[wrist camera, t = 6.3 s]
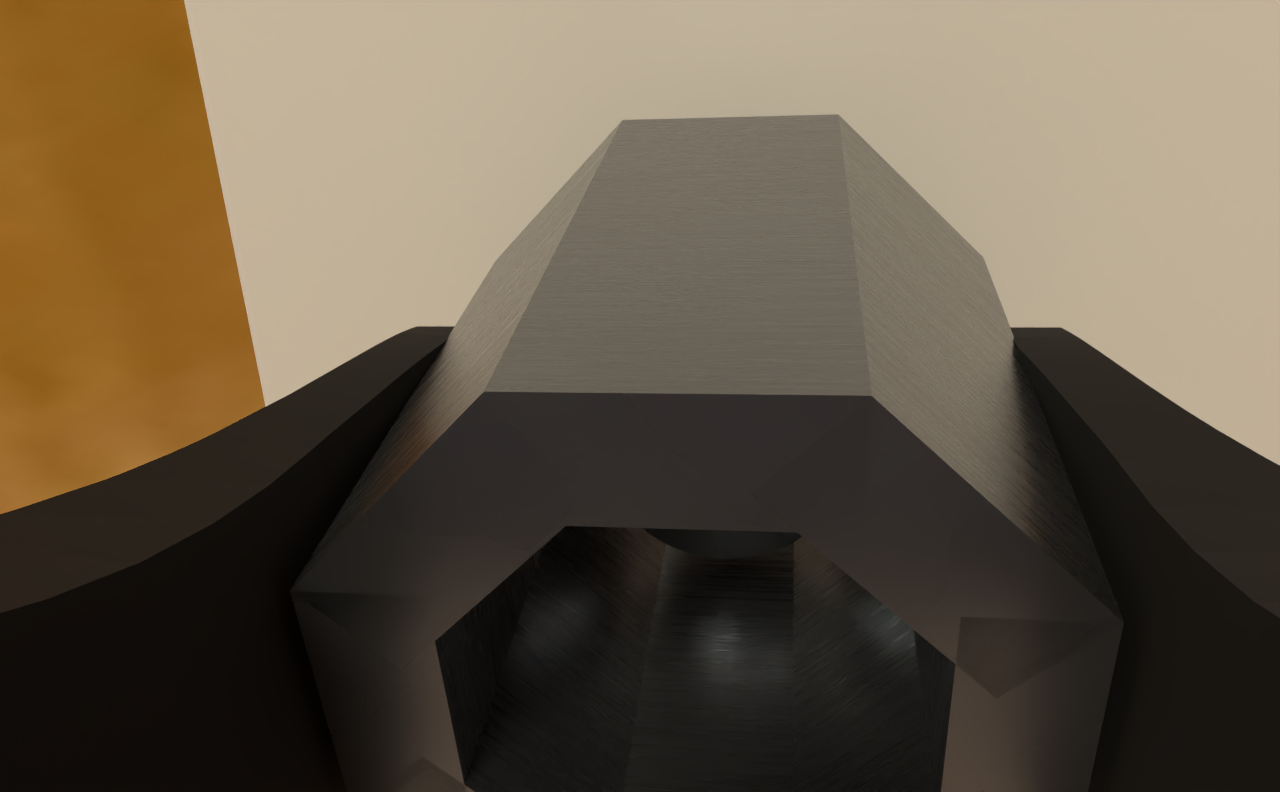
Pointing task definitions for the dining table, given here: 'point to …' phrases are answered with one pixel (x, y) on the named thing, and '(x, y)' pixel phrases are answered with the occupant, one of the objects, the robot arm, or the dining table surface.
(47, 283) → the dining table surface
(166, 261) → the dining table surface
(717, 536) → the cylinder
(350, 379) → the robot arm
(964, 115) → the board
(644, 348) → the gray faceted cup
